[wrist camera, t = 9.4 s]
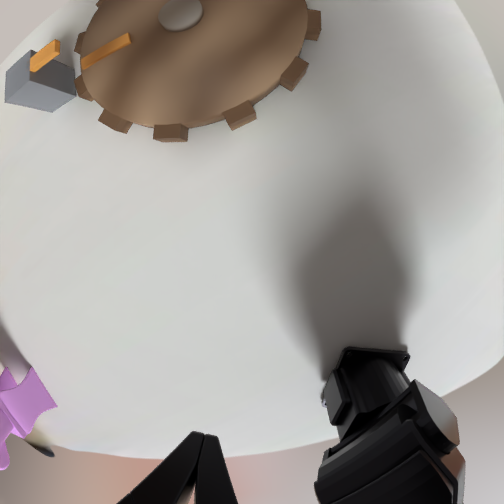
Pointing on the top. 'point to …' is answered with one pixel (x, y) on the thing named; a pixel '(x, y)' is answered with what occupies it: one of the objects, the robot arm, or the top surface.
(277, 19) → the sprocket
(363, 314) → the top surface
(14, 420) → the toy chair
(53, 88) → the grey toy mallet
